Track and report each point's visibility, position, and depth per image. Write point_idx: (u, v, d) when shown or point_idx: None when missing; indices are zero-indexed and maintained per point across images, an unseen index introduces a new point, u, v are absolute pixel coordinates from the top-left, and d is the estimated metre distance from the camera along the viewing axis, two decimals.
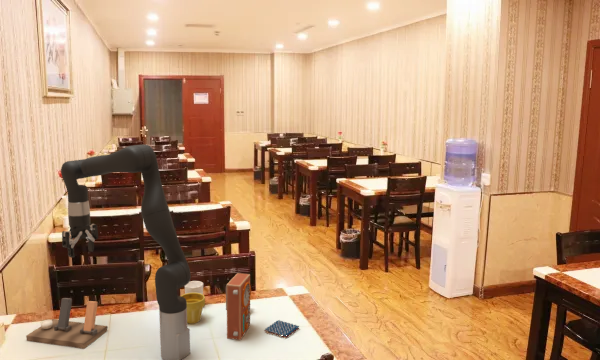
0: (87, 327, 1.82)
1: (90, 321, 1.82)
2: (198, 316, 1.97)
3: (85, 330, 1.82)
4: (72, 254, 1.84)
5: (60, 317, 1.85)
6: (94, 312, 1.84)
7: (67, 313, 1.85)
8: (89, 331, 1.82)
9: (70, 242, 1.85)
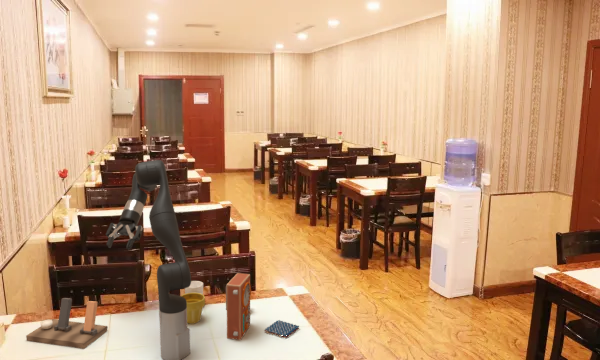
0: (87, 327, 1.82)
1: (90, 321, 1.82)
2: (198, 316, 1.97)
3: (85, 330, 1.82)
4: (108, 243, 1.99)
5: (60, 317, 1.85)
6: (94, 312, 1.84)
7: (67, 313, 1.85)
8: (89, 331, 1.82)
9: (115, 235, 2.02)
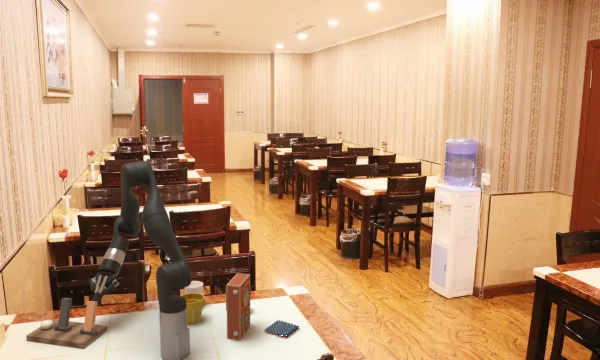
0: (87, 327, 1.82)
1: (90, 321, 1.82)
2: (198, 316, 1.97)
3: (85, 330, 1.82)
4: (93, 299, 1.86)
5: (60, 317, 1.85)
6: (94, 312, 1.84)
7: (67, 313, 1.85)
8: (89, 331, 1.82)
9: (99, 290, 1.90)
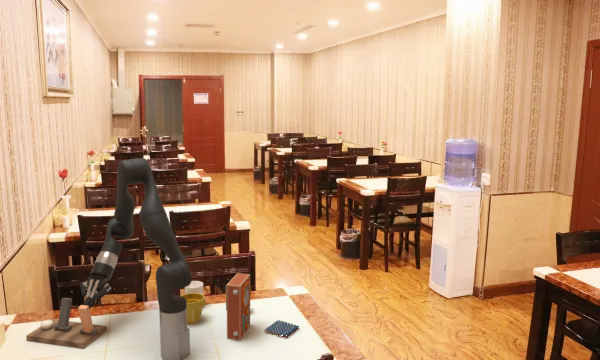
0: (86, 329, 1.82)
1: (87, 324, 1.81)
2: (198, 316, 1.97)
3: (85, 331, 1.82)
4: (84, 304, 1.81)
5: (60, 317, 1.85)
6: (88, 316, 1.80)
7: (67, 313, 1.85)
8: (89, 332, 1.82)
9: (91, 294, 1.85)
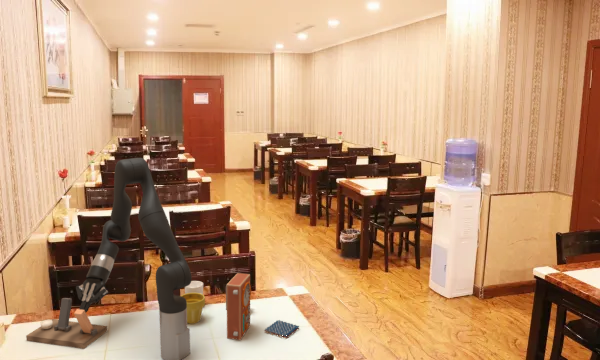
0: (86, 330, 1.82)
1: (86, 326, 1.80)
2: (198, 316, 1.97)
3: (85, 332, 1.82)
4: (80, 308, 1.79)
5: (60, 317, 1.85)
6: (86, 319, 1.79)
7: (67, 313, 1.85)
8: (89, 333, 1.82)
9: (87, 298, 1.83)
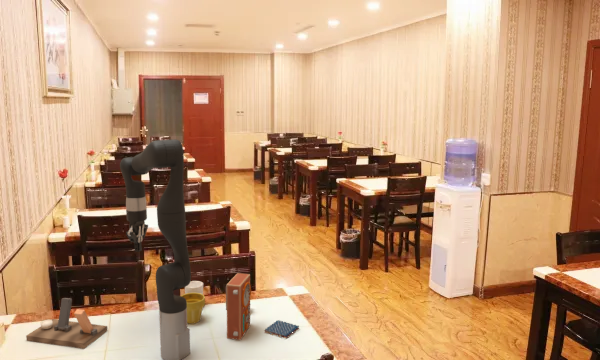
0: (86, 330, 1.82)
1: (86, 326, 1.80)
2: (198, 316, 1.97)
3: (85, 332, 1.82)
4: (139, 248, 1.93)
5: (60, 317, 1.85)
6: (86, 319, 1.79)
7: (67, 313, 1.85)
8: (89, 333, 1.82)
9: None
